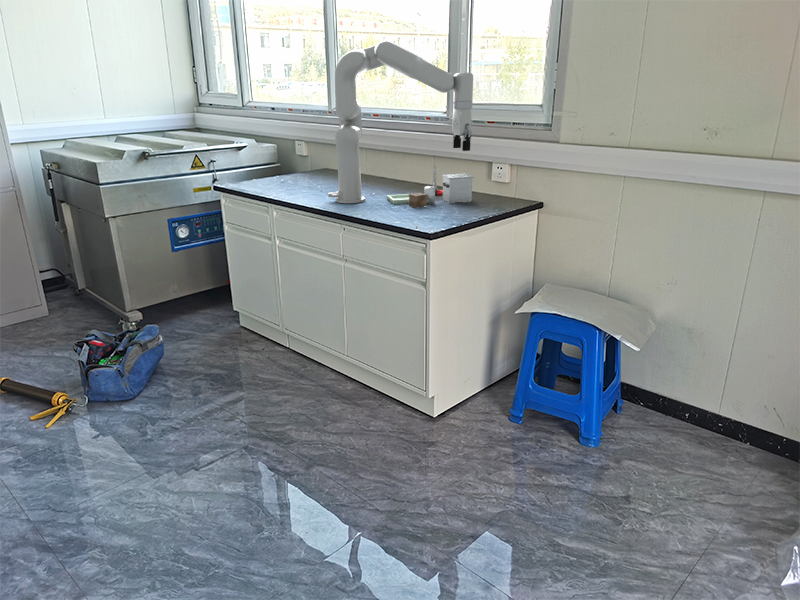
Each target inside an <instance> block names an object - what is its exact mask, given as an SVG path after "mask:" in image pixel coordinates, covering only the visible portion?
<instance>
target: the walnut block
mask: <svg viewBox="0 0 800 600" xmlns="http://www.w3.org/2000/svg"><path fill="white" fill-rule="evenodd" d="M408 194H409V204H408V205H409V207H411V206H412V207H411V208H414V207H415V208H414V209H418V208H417V207H420V208H425V207H424V206H426V207H427V205H426V194H424V193H421V192H413V193H408Z"/></svg>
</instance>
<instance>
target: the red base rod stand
mask: <svg viewBox="0 0 800 600" xmlns="http://www.w3.org/2000/svg"><path fill="white" fill-rule="evenodd" d="M433 169H434V170H433V183H432V186H434V187H435V196H443V189H438V187H437V186H438V185H437V165H434V168H433Z"/></svg>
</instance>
